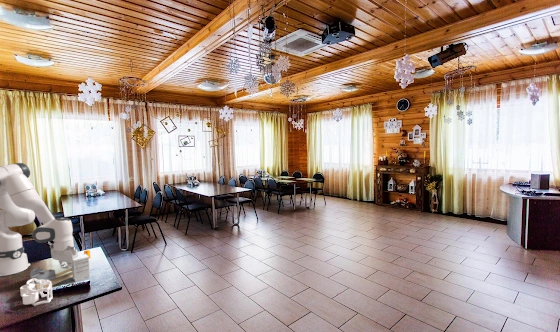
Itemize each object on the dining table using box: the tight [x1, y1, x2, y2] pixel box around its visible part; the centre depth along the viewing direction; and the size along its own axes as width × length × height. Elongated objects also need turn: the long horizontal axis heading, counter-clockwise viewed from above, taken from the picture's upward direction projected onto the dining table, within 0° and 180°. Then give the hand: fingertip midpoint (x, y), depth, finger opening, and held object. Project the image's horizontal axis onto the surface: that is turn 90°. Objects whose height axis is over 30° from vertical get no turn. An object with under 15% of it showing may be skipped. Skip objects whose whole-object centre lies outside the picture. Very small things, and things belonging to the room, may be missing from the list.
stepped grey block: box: [29, 267, 44, 283], centre depth 155 cm, size 4×4×8 cm
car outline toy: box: [19, 278, 54, 307], centre depth 139 cm, size 20×11×7 cm, turn 47°
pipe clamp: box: [83, 249, 91, 259], centre depth 183 cm, size 12×4×6 cm, turn 178°
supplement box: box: [71, 253, 91, 283], centre depth 160 cm, size 7×7×13 cm
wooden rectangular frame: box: [29, 267, 73, 290], centre depth 158 cm, size 7×24×8 cm, turn 162°
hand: (66, 268), depth 162 cm, fingers open, 4 cm apart
